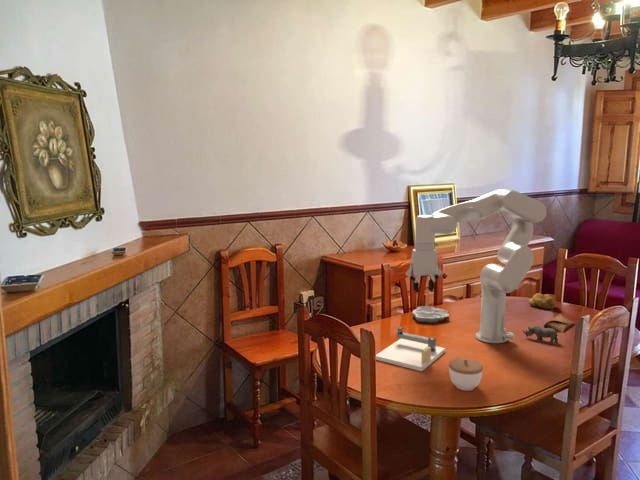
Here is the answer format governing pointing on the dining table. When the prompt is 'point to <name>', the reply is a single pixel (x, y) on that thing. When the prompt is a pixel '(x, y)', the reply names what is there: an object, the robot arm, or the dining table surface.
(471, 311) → the dining table surface
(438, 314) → the brain slice
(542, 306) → the bread roll
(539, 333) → the rhino figurine
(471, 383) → the lidded jar
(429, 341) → the bar
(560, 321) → the sunglasses case
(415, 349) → the door board
